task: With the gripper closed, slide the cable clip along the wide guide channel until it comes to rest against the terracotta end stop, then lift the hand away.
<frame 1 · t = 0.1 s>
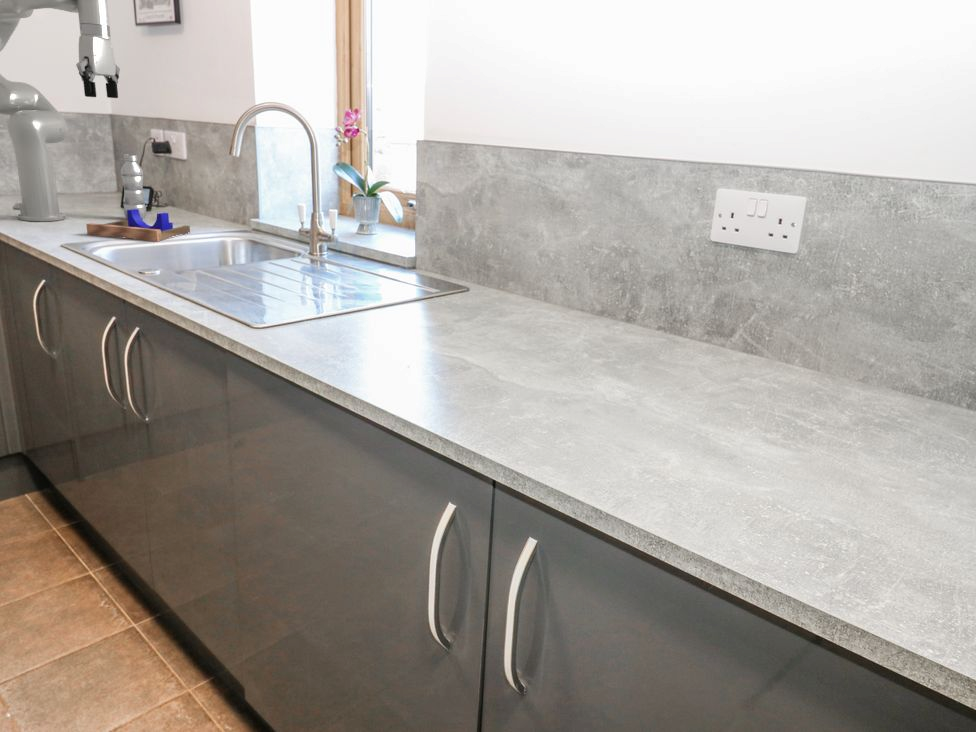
hand: (101, 97, 213), 37 cm above the worktop, tool pointing down, fingers open, 9 cm apart
cable clip: (151, 232, 220), on the worktop
plastic bottle: (136, 219, 238), on the worktop
guide channel: (141, 233, 215), on the worktop
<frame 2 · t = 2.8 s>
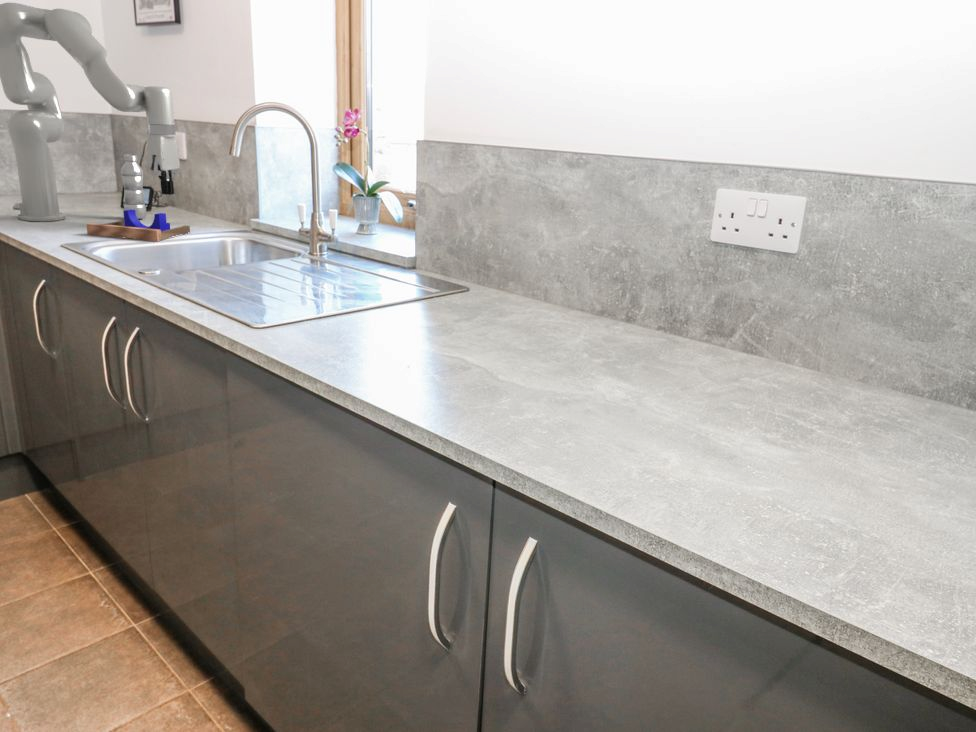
hand: (168, 194, 225), 10 cm above the worktop, tool pointing down, fingers closed
cable clip: (148, 232, 219), on the worktop
everything else where it was.
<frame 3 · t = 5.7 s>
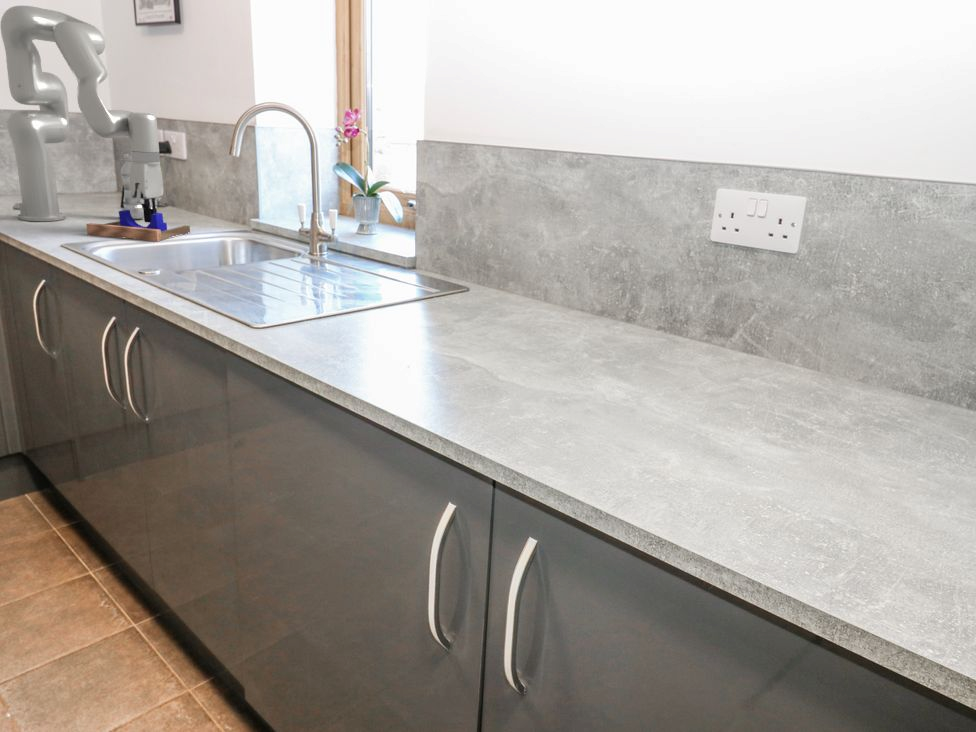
hand: (151, 221, 219), 3 cm above the worktop, tool pointing down, fingers closed
cable clip: (144, 233, 217), on the worktop, touching gripper
everything else where it was.
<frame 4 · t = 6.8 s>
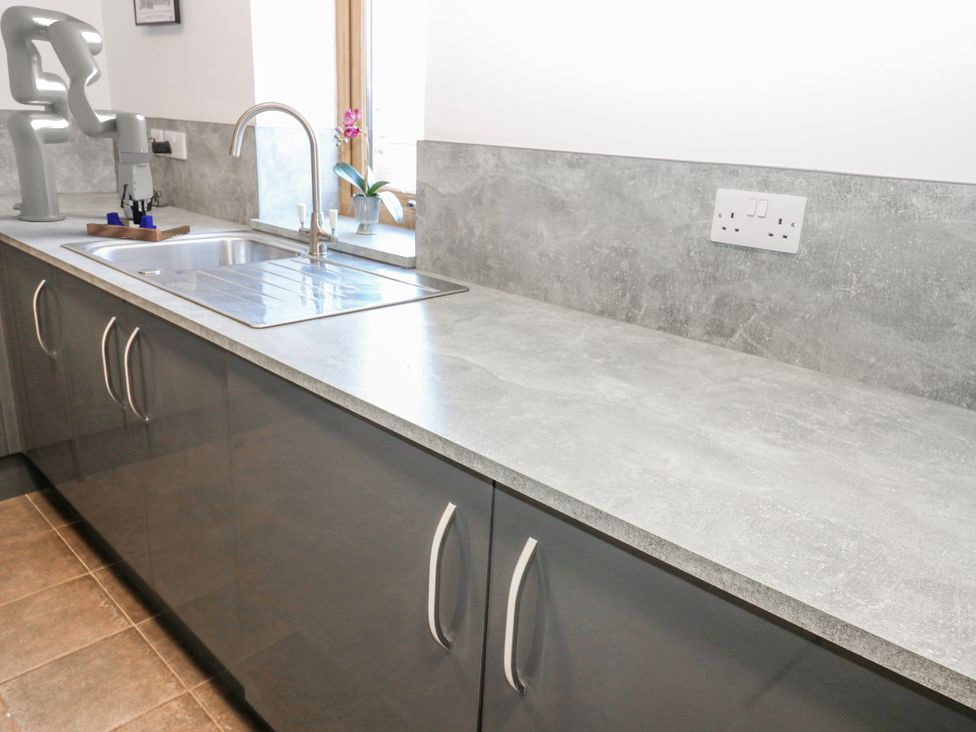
hand: (140, 224, 214), 3 cm above the worktop, tool pointing down, fingers closed
cable clip: (133, 236, 212), on the worktop, touching gripper
everything else where it was.
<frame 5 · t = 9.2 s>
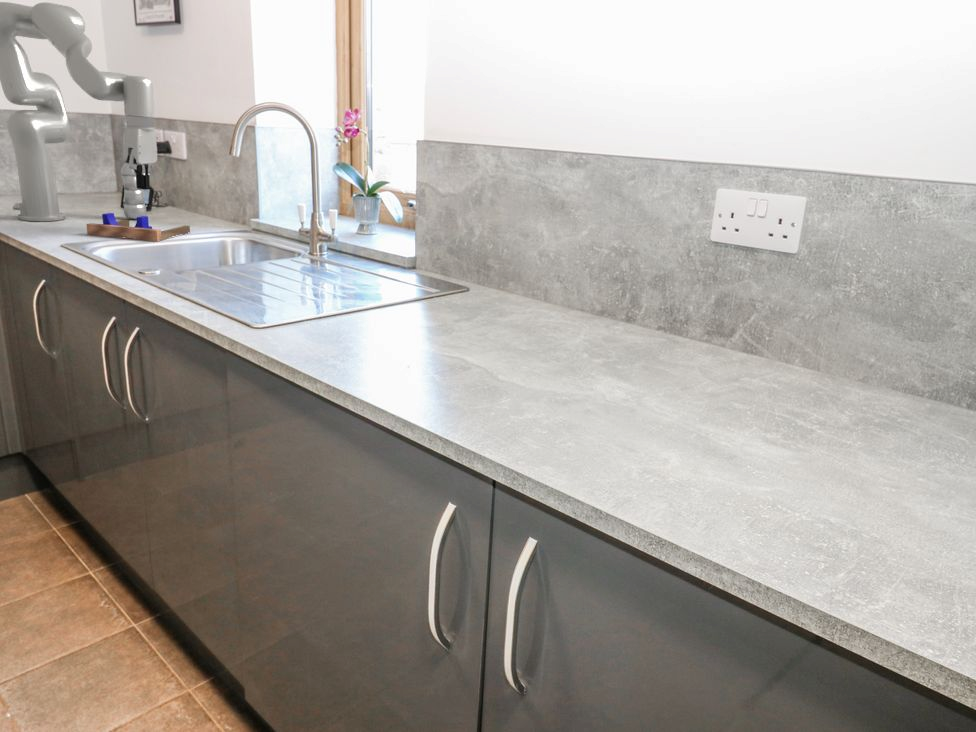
hand: (143, 188, 215), 12 cm above the worktop, tool pointing down, fingers closed
cable clip: (128, 236, 211), on the worktop
everything else where it was.
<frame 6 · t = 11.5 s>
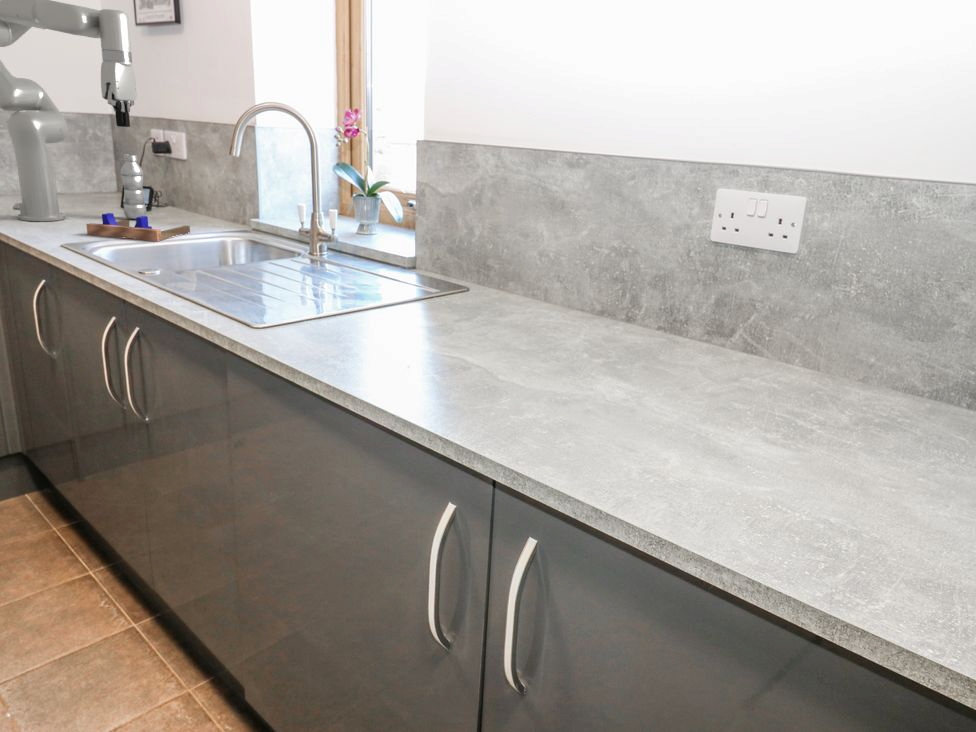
hand: (123, 126, 214), 29 cm above the worktop, tool pointing down, fingers closed
nothing on the worktop moved.
at the end: cable clip inside the target area (1.0 cm from its centre), on the worktop; cable clip tilted 0° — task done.
